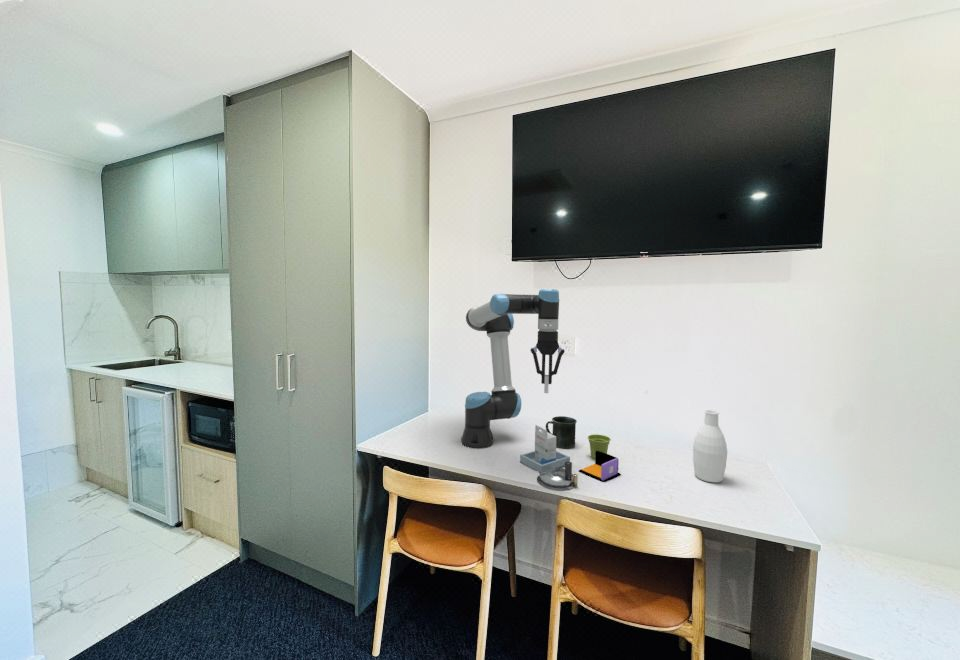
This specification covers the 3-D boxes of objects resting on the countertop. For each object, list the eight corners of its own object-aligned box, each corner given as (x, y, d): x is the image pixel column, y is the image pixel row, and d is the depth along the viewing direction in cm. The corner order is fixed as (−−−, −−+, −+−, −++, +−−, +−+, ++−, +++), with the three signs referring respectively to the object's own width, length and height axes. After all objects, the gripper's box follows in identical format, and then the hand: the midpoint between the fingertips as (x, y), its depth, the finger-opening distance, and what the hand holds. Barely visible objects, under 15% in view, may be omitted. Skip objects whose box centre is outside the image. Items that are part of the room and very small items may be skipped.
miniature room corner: (622, 475, 143) (622, 458, 142) (603, 484, 135) (604, 466, 135) (595, 464, 152) (595, 448, 152) (576, 472, 145) (577, 455, 144)
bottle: (685, 470, 147) (688, 407, 146) (714, 471, 147) (717, 408, 145) (701, 484, 136) (705, 415, 134) (732, 484, 136) (736, 416, 134)
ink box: (556, 465, 149) (557, 429, 148) (546, 467, 147) (547, 430, 146) (543, 457, 156) (544, 423, 155) (534, 459, 154) (534, 424, 153)
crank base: (529, 480, 137) (529, 467, 137) (555, 471, 145) (555, 458, 145) (557, 497, 125) (558, 482, 125) (584, 486, 133) (585, 472, 133)
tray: (520, 463, 152) (520, 454, 152) (547, 454, 161) (547, 447, 161) (541, 474, 142) (541, 466, 142) (569, 465, 151) (569, 456, 151)
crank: (533, 478, 136) (533, 457, 135) (553, 469, 144) (553, 449, 143) (560, 491, 127) (560, 468, 126) (580, 480, 135) (581, 459, 134)
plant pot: (583, 457, 158) (583, 438, 158) (593, 451, 165) (593, 432, 165) (604, 464, 152) (604, 443, 151) (613, 457, 159) (614, 437, 158)
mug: (571, 451, 165) (572, 425, 165) (541, 444, 173) (541, 419, 173) (579, 443, 174) (579, 418, 174) (550, 437, 182) (550, 413, 182)
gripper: (530, 330, 137) (528, 393, 138) (566, 331, 134) (564, 395, 136) (530, 329, 144) (529, 389, 146) (565, 330, 142) (563, 391, 143)
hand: (546, 392), depth 141 cm, fingers closed
